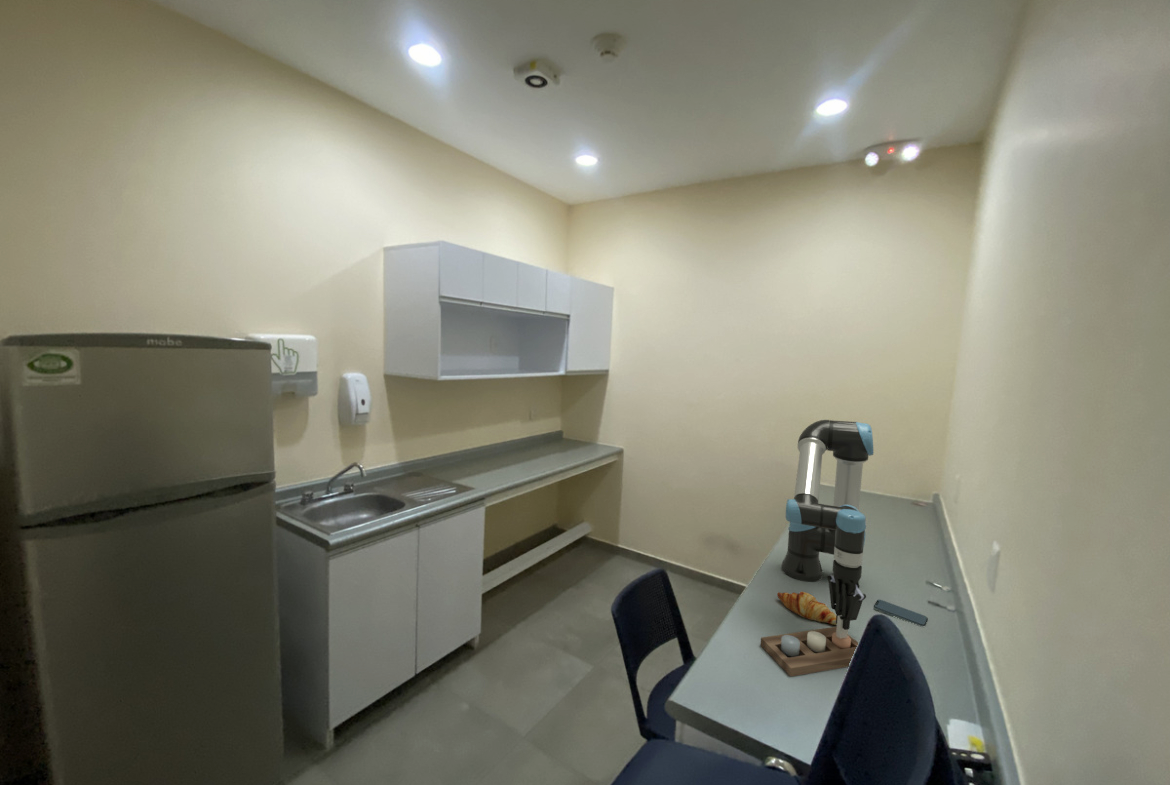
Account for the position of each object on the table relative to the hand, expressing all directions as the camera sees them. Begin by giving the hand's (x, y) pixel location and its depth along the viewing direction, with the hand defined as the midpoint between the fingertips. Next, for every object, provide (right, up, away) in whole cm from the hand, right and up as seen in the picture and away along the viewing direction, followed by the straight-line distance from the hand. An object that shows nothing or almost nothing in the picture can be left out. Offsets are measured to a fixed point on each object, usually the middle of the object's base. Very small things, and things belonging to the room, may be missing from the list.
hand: (841, 636), depth 142 cm
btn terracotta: (0, -4, 0) cm, 4 cm away
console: (-9, -4, -2) cm, 10 cm away
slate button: (-17, -2, -4) cm, 18 cm away
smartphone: (+32, -4, +20) cm, 38 cm away
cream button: (-9, -2, -2) cm, 9 cm away
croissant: (-1, -3, +20) cm, 20 cm away
